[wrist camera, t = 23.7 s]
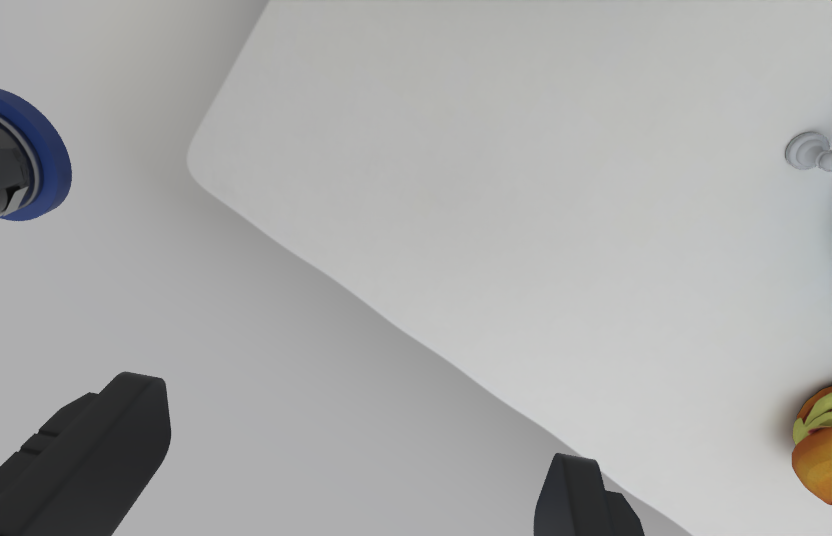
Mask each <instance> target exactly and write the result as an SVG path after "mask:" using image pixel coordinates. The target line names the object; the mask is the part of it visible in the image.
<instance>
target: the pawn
mask: <svg viewBox="0 0 832 536" xmlns="http://www.w3.org/2000/svg"><path fill="white" fill-rule="evenodd" d="M829 149H830V145H829V141H828V140H827V138H826V137H824V136H823V135H820V134H816V133H804V134H802V135H799V136H797V137H796V138H794V139H793V140H792V141H791V142H790V144H789V145H788V147H787V150H786V158H787V160H788V162H789V163H790V164H791V165H793V166H794V167H795V168H798V169H811V168H813V167H816V166H817V167H819V168H822V169H823V170H825V171H832V151H831V150H829Z"/></svg>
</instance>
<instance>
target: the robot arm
mask: <svg viewBox="0 0 832 536" xmlns="http://www.w3.org/2000/svg"><path fill="white" fill-rule="evenodd" d="M42 186H43V169H42V165H41V161H40V158H39V156H38V154H37V152H36V150H35V148H34V146H33V145H32V143H31V141H30V140H29V139H28V137H27V136H26V135H25V134H24V133H23V132H22V130H21V129H20V128H19V127H17V126H16V125H15V124H14V123H13V122H12V121H10V120H9V119H8V118H6V117H5V116H3V115H1V114H0V216H2V215H4V216H5V215H8V214H10V213H12V212H14V211H16V210H19V209H21V208H23V207H26V206H28V205H30V204H31V203H33V202H34V201H35V200H36V199H37V197H38V196H39V194H40V192H41V190H42ZM170 440H171V426H170V417H169V409H168V400H167V391H166V384H165V382H164V380H163V379H162V378H158V377H152V376H147V375H141V374H136V373H130V372H122V373H120V374H118V375H117V376H116V377H115V378H114V379H113V380H112V381H111V382H110V383H109V384H108V385H107V386H106V387H105V388H104V389H103V390H102V391H101V392H100V393H99V394H95V393H90V392H89V393H87V394H86V395H84V396H82V397H80V398H78V399H77V400H75V401H73V402H71V403H70V404H68V405H66V406H64V407H63V408H61V409H60V410H59V411H58V412H57V413H55V414H54V415H53V416H52V417H51V418H50V419H49V420H48V421H47V422H46V423H45V424H44V425H43V426H42V427H41V428H40V429H39V432H38V434H34V435H33V436H32V437H30V438H29V439H28V440H27V441H26V442H25V443H24V444H23V445H22V446H21V449H20V451H19V452H15V453H14V454H13V455H12V456H11V457H10V458H9V459H8V460H7V461H6V462H4V463H3V464H2V466H0V536H111V535H112V534H113V533H114V531H115V530H116V528H117V527H118V525H119V524H120V523H121V521H122V520H123V518H124V517H125V515H126V514H127V513H128V511H129V510H130V508H131V507H132V505H133V504H134V502H135V501H136V500H137V498H138V497H139V495H140V494H141V492H142V491H143V489H144V488H145V487H146V485H147V484H148V482H149V481H150V479H151V478H152V477H153V475H154V474H155V472H156V471H157V469H158V468H159V467H160V465H161V464H162V462H163V460H164V458H165V456H166V454H167V451H168V448H169V445H170ZM534 536H645V535H644V532H643V529H642V526H641V522H640V519H639V518H638V516H637V515H636V514H635V512H634V511H633V509H632V508H631V506H630V505H629V503H628V502H627V501H626V499H625V498H624V496H623V495H622V494H621V493H616V492H611V491H606V490H605V488H604V484H603V480H602V477H601V472H600V468H599V465H598V463H597V461H596V460H593V459H588V458H582V457H576V456H571V455H566V454H561V453H556V454H555V456H554V458H553V460H552V463H551V466H550V468H549V471H548V474H547V476H546V479H545V482H544V485H543V488H542V490H541V493H540V496H539V499H538V502H537V505H536V509H535V516H534Z"/></svg>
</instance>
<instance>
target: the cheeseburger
mask: <svg viewBox="0 0 832 536" xmlns="http://www.w3.org/2000/svg"><path fill="white" fill-rule="evenodd" d="M793 440H794V442H795V445H796V447H795V449H794V451H793V453H792V467H793V469H794V471H795V473H796V475H797V476H798V478H799V479H800V481H801V482H802V483H803V485H804V486H805V487H806V488H807V489H808V490H809V491H810V492H812V493H813V494H814V495H815V496H817V497H818V498H820V499H821V500H823V501H824V502H825V503H827V504H829V505H832V386H831V387H828V388H824V389H822V390H821V391H819V392H818V393H817V394H815V395H814V396H813V397H812V398H810V399H809V400H808V401H806V403H805V404H804V406H803V407H802V409H801V410H800V412H799V414H798V415H797V420H796V421H795V423H794V426H793Z"/></svg>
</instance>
